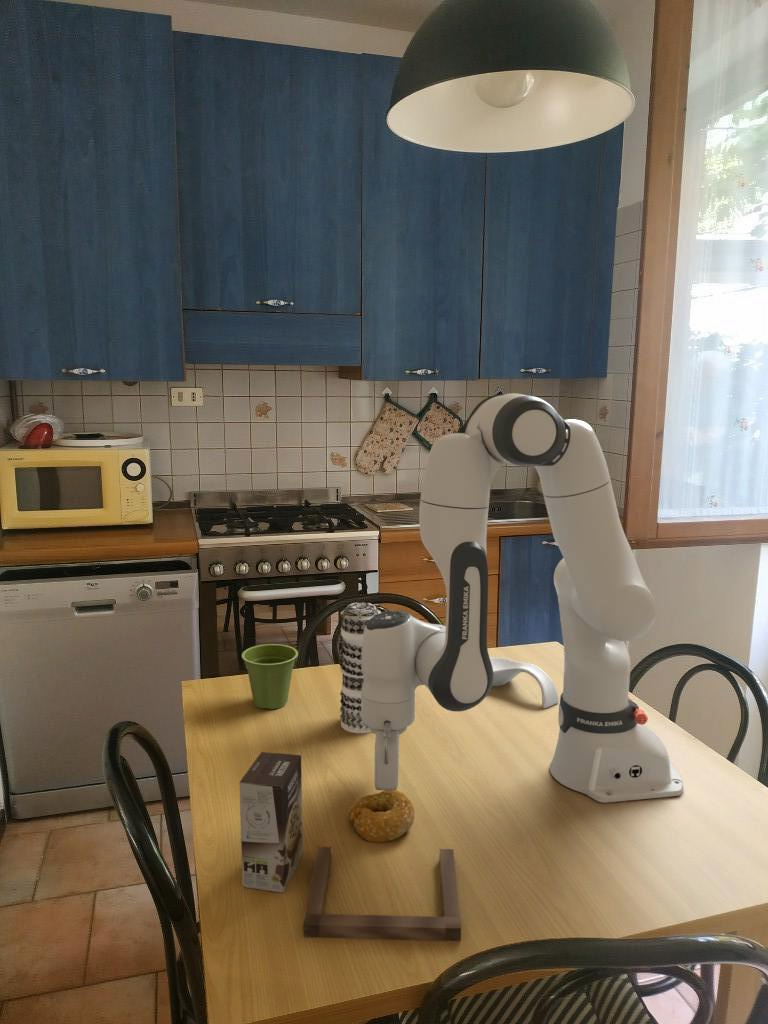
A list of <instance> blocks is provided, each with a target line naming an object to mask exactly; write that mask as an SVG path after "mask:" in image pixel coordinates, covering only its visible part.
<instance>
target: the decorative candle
mask: <svg viewBox="0 0 768 1024" xmlns="http://www.w3.org/2000/svg"><path fill="white" fill-rule="evenodd" d="M379 613H382V612H381V610H379V609H378V608H377V607H376V605H375V604H372V603H370V602H365V601H364V602H362V601H361V602H353V603H350V604H348V605H347V606H346V607H345V609H343V610H341V612H340V617H341V628H340V634H339V635H337V636H338V637H337V638H338V640H337V641H338V647H337V648H338V650H339V654H338V655H339V656H338V658H339V663H338V664H339V666H340V668H339V669H340V670H339V671H340V672H341V674H342V682H341V691H340V692H339V695H340V697H341V698H340V699H339V700H340V701H339V702H340V707H339V708H340V709H339V710H340V715H339V717H340V720H341V721H340V725H341V728H342V729H344V730H345V731H346V732H349V733H353V734H370V733H372V732H371V731H370V729H369V726H367V725H366V724H364V723H363V721H362V719H361V690H362V685H363V682H364V676H363V672H362V668H361V655H362V641H363V634H364V629H365V626H366V624H367V622H368V621H369V620H370V619H371V618H372V617H374V616H375V615H377V614H379Z"/></svg>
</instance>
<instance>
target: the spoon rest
mask: <svg viewBox="0 0 768 1024" xmlns="http://www.w3.org/2000/svg"><path fill="white" fill-rule="evenodd" d="M489 658H490V661H491V664H492V668H493V675H494V677H493V683H492V687H500V686H504V685H506V684H507V683H509V682H510V681H512V680H513V679H514V678H515V677H516V676H517V675H519V674H520V673H527V674H528V675H529V676H531V677H532V678H533V679H535V681H536V682H537V683H538V685H539V688H540V691H541V692H540V693H541V703H542V705H541V707H542V708H543V709H547V708H550V707H553V706H555V705H556V704H559V694H558V691H557V688H556V685H555V684H554V682H553V681H552V679H551V678H550V676H549V675H548V674H547V673H546V672H545V671H544V670H543V669H542V668H540V667H539V666H537V665H536V664H533V663H529V662H520V661H517V660H513V659H510V658H506V657H497V656H495V657H494V656H489Z"/></svg>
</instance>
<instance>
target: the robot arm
mask: <svg viewBox="0 0 768 1024" xmlns="http://www.w3.org/2000/svg"><path fill="white" fill-rule="evenodd" d="M503 464H504V465H505V464H513V465H516V466H520V467H534V468H535V470H536V472H537V474H538V476H539V480H540V486H541V490H542V494H543V500H544V504H545V508H546V513H547V516H548V518H549V524H550V528H551V531H552V535H553V539H554V542H556V545H557V546H558V549H559V550H560V553H561V555H562V559H561V560H560V561H559V562H558V563H557V565H556V567H555V570H554V573H553V584H554V587H555V591H556V594H557V601H558V610H559V618H560V619H559V620H560V627H561V629H560V630H561V634H562V635H561V636H562V642H563V643H562V644H563V652H564V653H563V656H564V657H563V658H564V659H563V660H564V661H563V662H564V663H563V664H564V665H563V681H562V683H563V684H562V685H563V687H562V692H561V694H560V696H559V697H560V698H559V699H560V700H559V703H558V716H557V717H558V718H557V719H558V727H559V732H558V738H557V743H556V745H555V746H556V747H555V750H554V753H553V757H552V759H551V762H550V764H549V772H550V774H551V776H552V777H553V778H554V779H555V780H556V781H557V782H558V783H559V784H561V785H563V786H564V787H567V788H569V789H571V790H573V791H576V792H579V793H581V794H584V795H587V796H588V797H590V798H591V799H593V800H595V801H596V802H599V803H603V804H605V803H606V804H607V803H616V802H627V801H635V800H636V801H637V800H646V799H658V798H668V797H669V798H670V797H676V796H677V797H678V796H681V795H682V794H683V791H684V782H683V778H682V774H680V771H679V770H678V769H677V767H676V766H675V765H674V763H673V762H672V761H671V760H670V758H669V757H670V756H669V754H668V750H667V748H666V746H665V744H664V742H663V741H662V739H660V737H659V736H658V735H657V734H656V733H655V732H654V731H653V730H651V729H650V728H649V727H647V726H646V725H645V724H646V723H648V720H649V718H648V716H647V714H646V713H645V711H644V710H643V709H640V708H639V705H638V704H637V703H636V702H634V701H633V699H631V697H630V696H629V695H630V694H629V691H630V679H631V678H630V677H631V657H630V653H629V651H628V647H627V645H626V642H631V641H635V640H638V639H639V638H641V637H643V636H644V635H646V634H647V633H648V632H649V631H650V630H651V628H652V627H653V625H654V623H655V621H656V617H657V612H658V611H657V608H658V607H657V604H656V603H657V602H656V599H655V598H654V595H652V592H651V591H650V589H649V588H648V586H647V584H646V582H645V580H644V578H643V575H642V573H641V570H640V568H639V566H638V562H637V559H636V558H635V555H634V552H633V551H632V548H631V545H630V543H629V541H628V539H627V536H626V534H625V531H624V528H623V525H622V522H621V519H620V516H619V515H620V514H619V511H618V506H617V502H616V498H615V494H614V488H613V485H612V480H611V476H610V472H609V467H608V463H607V461H606V458H605V455H604V452H603V449H602V446H601V445H600V441H599V439H598V437H597V435H596V433H595V431H594V429H593V427H592V426H591V425H590V424H589V423H587V422H585V421H583V420H579V419H573V418H571V419H569V418H568V419H564V418H563V417H562V416H561V415H560V414H559V413H558V411H556V409H555V408H554V407H553V406H552V405H551V404H550V403H548V402H547V401H546V400H544V399H541V398H539V397H537V396H533V395H526V394H521V393H515V392H513V393H511V392H510V393H506V394H495V395H491V396H488V397H486V398H485V399H482V400H481V401H479V402H478V403H477V404H476V406H475V407H474V408H473V410H472V411H471V412H470V414H469V416H468V418H467V420H466V421H465V422H464V424H463V425H462V427H460V429H459V431H458V432H454V433H453V432H452V433H449V434H446V435H443V436H441V437H438V438H437V439H436V440H435V441H434V442H433V444H432V446H431V449H430V451H429V455H428V458H427V461H426V465H425V469H424V474H423V478H422V484H421V491H420V500H419V510H418V511H419V512H418V524H419V532H420V533H419V534H420V539H421V542H422V544H423V546H424V548H425V549H426V551H427V552H428V553H429V555H430V557H431V558H432V560H433V561H434V563H435V565H436V566H437V568H438V570H439V572H440V574H441V576H442V579H443V582H444V586H445V592H446V604H445V606H446V607H445V609H446V610H445V611H446V612H445V613H446V614H445V625H443V624H440V623H430V622H425V621H422V620H420V619H418V618H416V617H414V616H413V615H411V614H410V613H409V612H407V611H405V610H385V611H383V612H381V613H379V614H377V615H375V616H374V617H372V618H371V619H370V620H369V621H368V622H367V624H366V626H365V629H364V634H363V641H362V655H361V668H362V672H363V676H364V682H363V685H362V690H361V719H362V721H363V723H364V724H366V725H367V726H369V729H370V731H371V732H370V733H373V734H374V735H375V743H374V774H373V775H374V776H373V777H374V780H373V781H374V787H375V790H377V791H393V790H398V785H399V762H400V761H399V759H400V754H399V753H400V735H402V734H403V733H404V732H406V731H407V729H408V727H410V726H411V725H412V724H413V722H415V719H416V718H415V717H416V715H415V712H416V710H415V709H416V708H415V707H416V688H418V687H419V686H425V687H426V688H427V689H428V690H429V692H430V693H431V695H432V696H433V699H435V701H436V703H437V704H439V706H440V707H441V708H443V709H445V710H447V711H450V712H464V711H468V710H471V709H473V708H475V707H476V706H478V705H479V704H480V703H482V702H483V700H484V699H486V697H487V695H488V694H489V693H490V692H491V689H492V687H493V686H492V683H493V677H494V675H493V668H492V664H491V661H490V658H489V657H490V655H489V650H488V643H487V641H488V637H487V636H488V605H489V603H488V602H489V600H488V599H489V569H488V555H487V553H488V552H487V551H488V549H487V533H488V531H487V529H488V517H489V509H490V507H489V505H490V496H491V486H492V484H493V480H494V478H495V475H496V473H497V472H498V470H499V469H500V468H501V467H502V466H503Z"/></svg>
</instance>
